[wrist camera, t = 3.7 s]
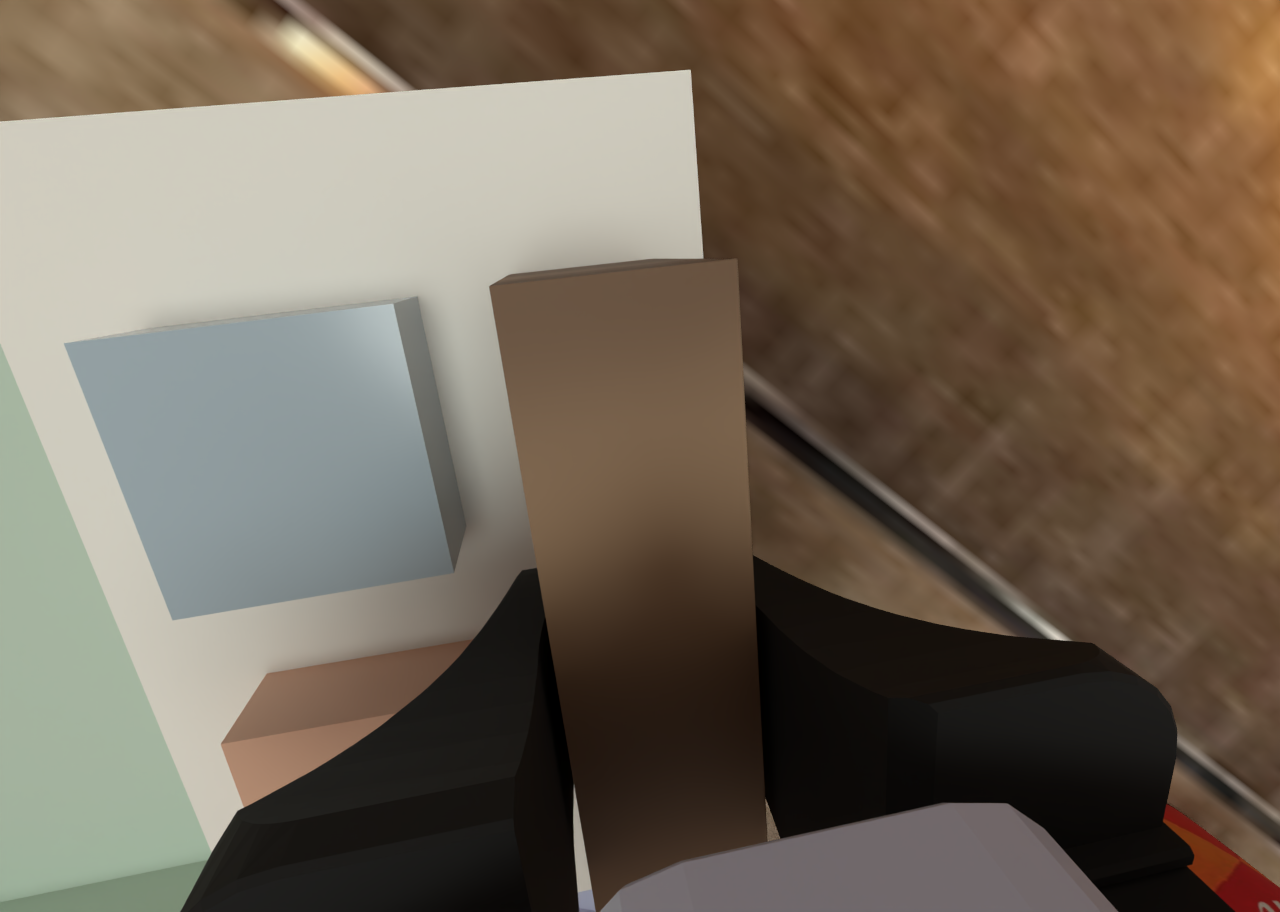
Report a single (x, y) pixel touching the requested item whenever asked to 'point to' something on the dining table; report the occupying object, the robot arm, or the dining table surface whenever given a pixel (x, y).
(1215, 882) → the paper cup
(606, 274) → the bar
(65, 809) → the tray
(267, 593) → the tile
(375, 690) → the tile
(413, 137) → the bench
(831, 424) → the dining table surface
